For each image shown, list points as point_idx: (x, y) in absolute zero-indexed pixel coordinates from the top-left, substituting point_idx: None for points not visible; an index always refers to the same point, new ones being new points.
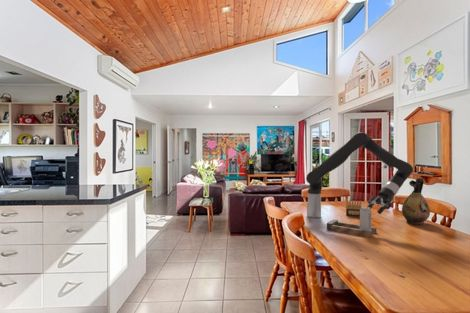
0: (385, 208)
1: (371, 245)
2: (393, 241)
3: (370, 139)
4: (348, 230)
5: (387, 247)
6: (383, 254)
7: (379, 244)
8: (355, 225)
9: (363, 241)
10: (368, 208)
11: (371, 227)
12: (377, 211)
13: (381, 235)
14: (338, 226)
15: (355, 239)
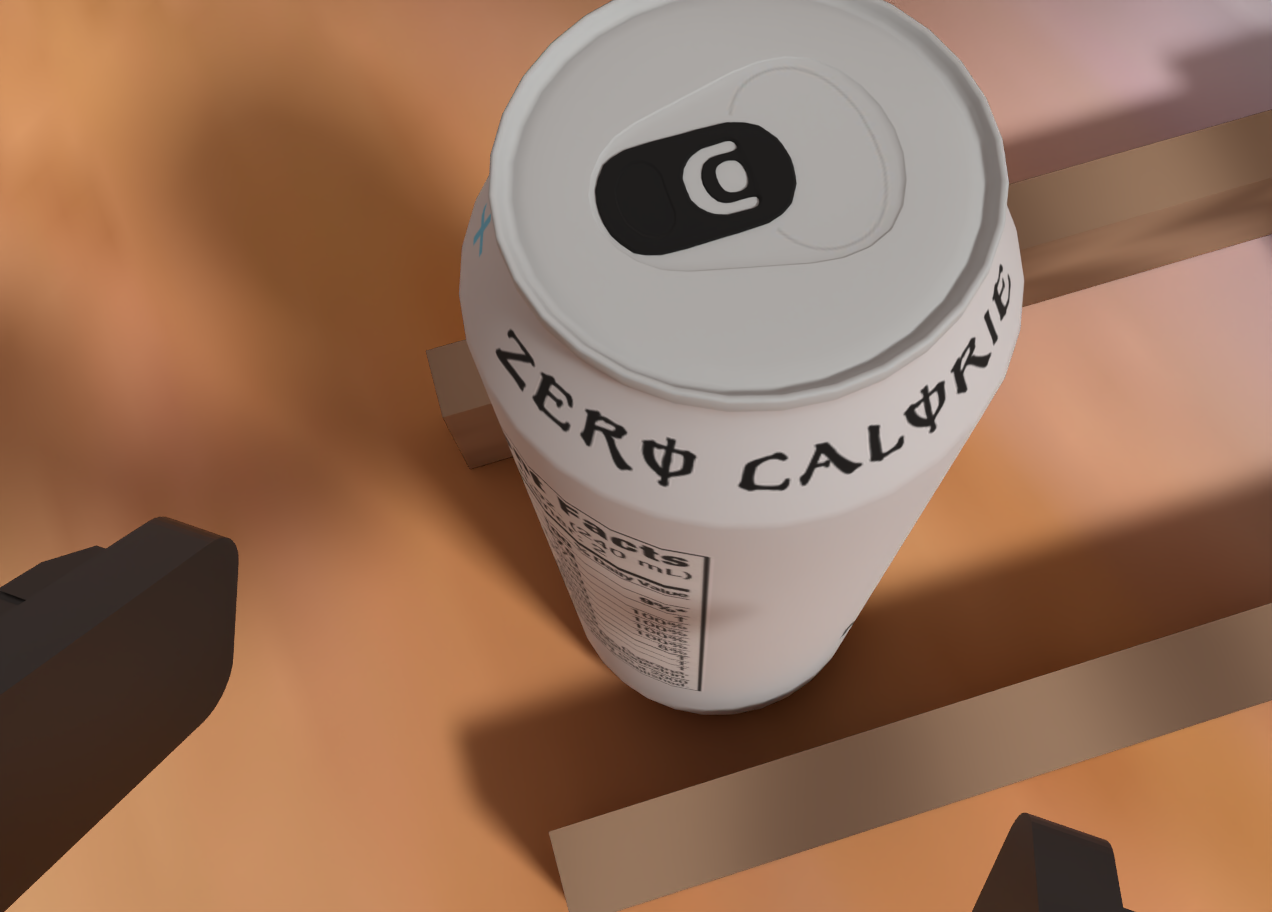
0: None
1: (246, 12)
2: (21, 545)
3: None
4: None
5: (10, 126)
6: None
7: (167, 156)
8: (1126, 652)
9: (442, 79)
10: (546, 154)
11: (676, 796)
12: (213, 535)
13: (386, 778)
14: (1227, 138)
15: None
